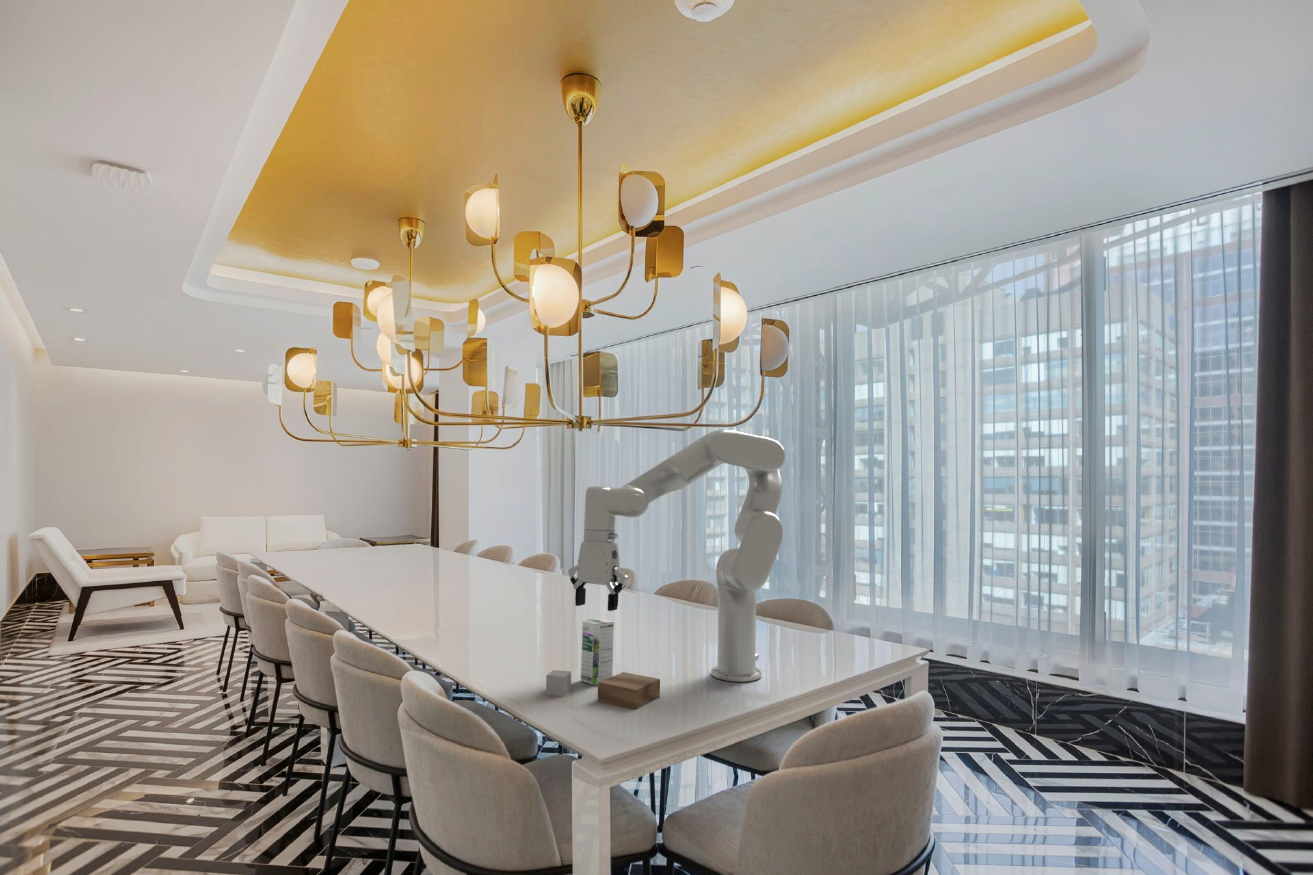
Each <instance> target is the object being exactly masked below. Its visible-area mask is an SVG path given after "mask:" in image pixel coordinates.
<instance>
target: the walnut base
mask: <svg viewBox="0 0 1313 875" xmlns="http://www.w3.org/2000/svg"><path fill="white" fill-rule="evenodd" d="M660 696H661V678H656V677H650V676H646V675H640V674H635V673H630V672H624V671H623V672H620V673H617V674H616V675H612V677H610V678H608V679H605V680H603V681H600V682H598V685H597V702H599V703H601V702H602V703H606V704H610V705H614V706H619V707H624V708H629V709H631V710H632V709H634V710H636V709H639V708H641V707H643V706H645V705H647V704H649V703H651V702H653V701H655V700H657V699H659V698H660Z"/></svg>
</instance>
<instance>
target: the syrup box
mask: <svg viewBox="0 0 1313 875" xmlns="http://www.w3.org/2000/svg"><path fill="white" fill-rule="evenodd" d="M614 626H615V621H611V620H606V619H602V618H588V619H585V620H583V621H582V628H581V630H582V631H581V660H580V664H581V665H580V682H584V683H586V684H589V685H592V686H598V682H600V681H603V680H605V679H608V678H610V677H613V667H614V666H613V663H614V660H613V659H614V633H615V632H614V630H615V629H614Z"/></svg>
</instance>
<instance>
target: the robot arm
mask: <svg viewBox="0 0 1313 875" xmlns="http://www.w3.org/2000/svg"><path fill="white" fill-rule="evenodd" d="M785 460H786V451H785V448H784V447H783V445H782V444H781V443H780V442H779V441H777V440H775V439H773V438H772V437H766V436H761V435H756V434H750V433H747V432H742V431H739V430H738V431H737V430H733V429H726V428H723V429H717V430H713V431H710V432H708V433H706V434H705V435H702V437H700V438H698V439H696V440H694V441H693V442H692V443H691V444H689V445H687V446H685V447H684V448H682V449H681V450H679V451H677V452H676V453H674V454H673V455H671V456H670V457H668V458H667V459H665V460H662V461H661V462H659V464H657V465H655V466H654V467H652V468H650V469H648V471H645V472H643V473H642V474H641V475H639V476H638V477H636V478H634V479H632V480H631V481H629V482H627V483H626V484H625V485H623V486H621V487H618V488H617V487H616V488H614V487H611V486H593V485H592V486H589V487H587V489H586V491H585V501H584V523H583V524H584V526H583V541H581V543H580V548H579V553H578V560H577V565H575V566H573V567H571V568H569V569H568V571H567V573H568V575H569V580H570V582H571V584H572V585H573V589H574V590H575V596H574V597H575V598H574V599H575V600H574V602H575V603H574V604H575V607H580V606H584V605H586V596H587V595H586V594H587V592H586V588H585V586H586V585H587V584H591V585H592V584H593V585H597V586H598V585H601V586H606V588H607V589H608V591H609V593H608V595H607V611H609V612H613V611H617V610H618V606H619V594H620V593H621V592H622V590H623V589H624V588H625V587H626V584H627V582H628V580H629V576H628V575H627V574H626V573H625V572H624V571H622V570H620V569H621V567H620V566H621V565H620V564H621V563H620V551H619V547H618V542H617V543H616V542H615V540H617V539H618V538H619V534H618V533H616V531H615V530H616V516H620V517H625V518H630V519H631V518H638V517H641V516H643V514H645V513H646V512H647V510H648V508H649V506H650V504H651V503H652V502H654V501H656V500H657V499H659V498H661V497H662V496H665V495H667V494H669V493H672V492H676V491H679V490H682V489H684V488H685V487H688V486H689V485H691V484H692V483H694V482H696V481H697V480H699V479H700V478H703V476H705V475H707V474H708V473H710V472H711V471H713V470H714V469H715V468H718V467H719V466H721V465H722V464H728V465H732V466H735V467H739V468H744V469H745V471H746V473H747V476H748V481H749V484H748V489H747V493H746V496H745V499H744V501H743V504H742V507H741V509H740V511H739V514H738V516H737V519H736V521H735V525H734V535H735V537H736V539H737V540H738V541H739V542H740V545H739V547H738V548H735V547H734V548H729V549H726V551H724V552H723V553H722V554H721V555H720V556H719V558H718V560H717V563H716V569H715V570H716V571H715V572H716V574H715V575H716V584H717V585H716V586H717V600H718V602H717V604H718V605H717V611H718V612H717V665H715V666H714V667H712V668H711V676H713V677H714V678H716V679H719V680H722V681H727V682H737V683H741V682H743V683H744V682H745V683H747V682H755V681H757V680H760V678H762V675H763V674H762V671H761V669H759V668H758V667H756V662H757V661H758V660H759V658H760V656H759V654H758V653H756V644H757V643H756V642H757V640H756V637H757V636H756V634H757V632H756V631H757V630H756V628H757V624H756V623H757V622H756V621H757V618H756V617H757V600H756V598H757V597H756V592H757V591H759V590H760V589H761V588H763V586H764V585H765V584H766V582H767V580H768V579H769V577H770V574H771V572H772V569H773V567H774V565H775V560H776V559H777V556H778V552H779V550H780V547H781V544H782V542H783V538H784V537H783V535H784V528H783V524H782V522H781V520H780V518H779V516H777V515H776V513H777V510H778V507H779V503H780V502H781V499H782V498H781V497H782V492H783V482H782V480H783V479H782V477H781V473H780V471H779V469H781V468H782V466H783V465H784V463H785Z"/></svg>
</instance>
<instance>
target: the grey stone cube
mask: <svg viewBox="0 0 1313 875" xmlns="http://www.w3.org/2000/svg"><path fill="white" fill-rule="evenodd" d="M545 677H546V678H545V679H546V681H545V682H546V687H545V695H546V696H555V697H556V696H557V697H565V696H567V694H569V693H570V692H571V691H572V690H571V689H572V670H558V669H557V670H555V669H553V670H551V671H549V672H548V674H546V676H545Z"/></svg>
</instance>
